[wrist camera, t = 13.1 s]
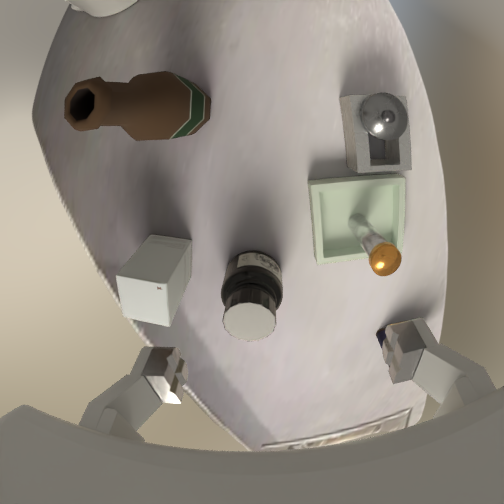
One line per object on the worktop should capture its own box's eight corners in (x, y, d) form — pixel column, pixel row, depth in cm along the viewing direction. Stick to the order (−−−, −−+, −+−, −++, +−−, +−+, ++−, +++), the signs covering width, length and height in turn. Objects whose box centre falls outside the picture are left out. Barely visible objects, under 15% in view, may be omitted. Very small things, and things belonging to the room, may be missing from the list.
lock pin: (344, 212, 39) (372, 248, 28) (368, 209, 38) (402, 244, 27) (345, 235, 40) (371, 278, 29) (368, 232, 40) (399, 273, 29)
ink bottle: (294, 274, 44) (301, 323, 34) (257, 305, 48) (254, 356, 37) (248, 236, 42) (242, 279, 31) (213, 273, 45) (198, 320, 34)
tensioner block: (338, 96, 32) (355, 91, 25) (390, 96, 31) (414, 94, 24) (347, 166, 36) (364, 176, 29) (396, 163, 35) (420, 173, 28)
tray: (307, 180, 37) (310, 185, 35) (396, 173, 36) (405, 177, 33) (314, 255, 43) (317, 264, 40) (394, 244, 41) (402, 253, 38)
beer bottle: (203, 75, 31) (115, 22, 10) (221, 123, 34) (151, 129, 13) (153, 97, 33) (31, 90, 11) (171, 144, 36) (60, 184, 14)
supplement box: (149, 232, 42) (114, 273, 31) (193, 239, 42) (168, 283, 31) (151, 271, 46) (121, 317, 34) (191, 278, 46) (170, 328, 35)
